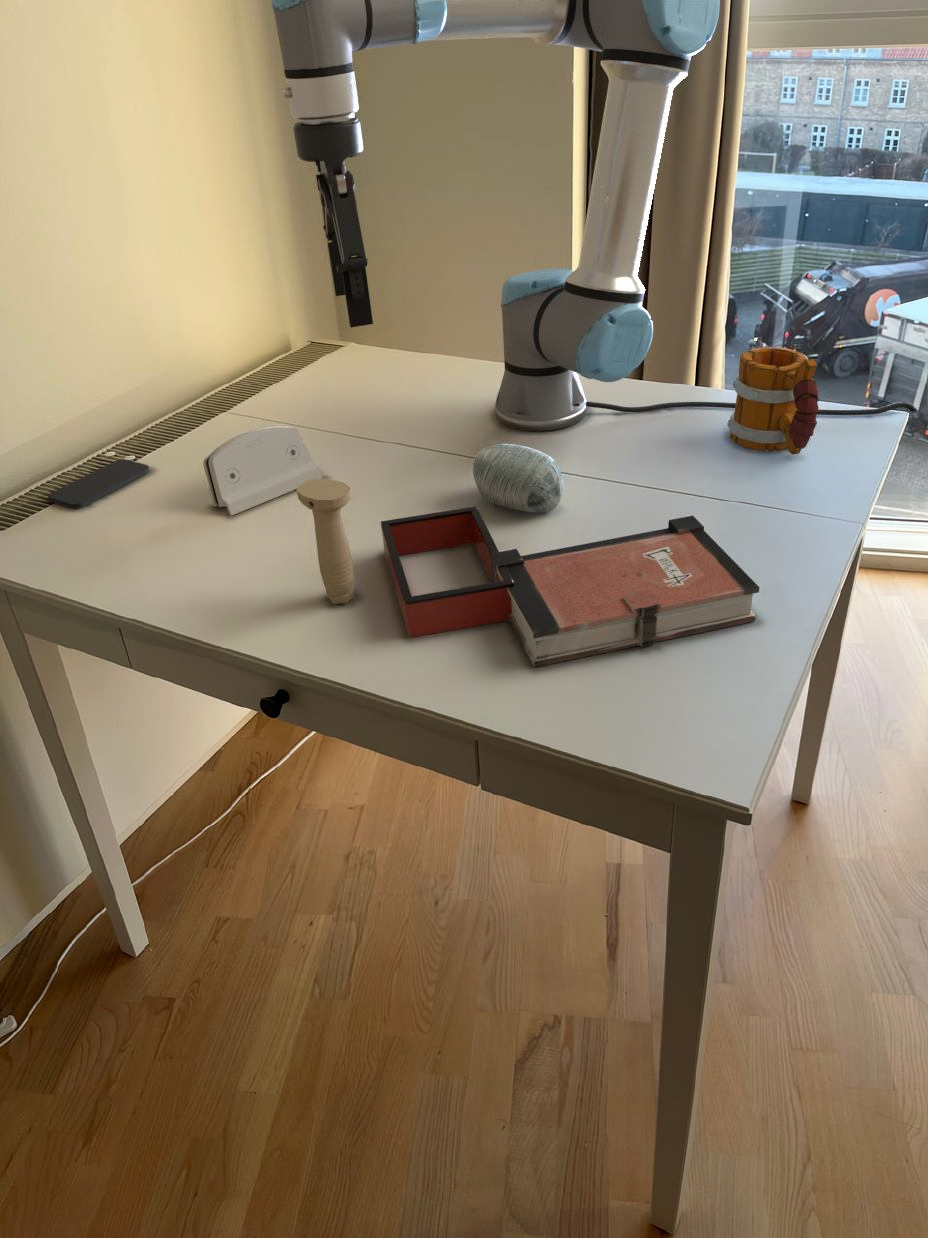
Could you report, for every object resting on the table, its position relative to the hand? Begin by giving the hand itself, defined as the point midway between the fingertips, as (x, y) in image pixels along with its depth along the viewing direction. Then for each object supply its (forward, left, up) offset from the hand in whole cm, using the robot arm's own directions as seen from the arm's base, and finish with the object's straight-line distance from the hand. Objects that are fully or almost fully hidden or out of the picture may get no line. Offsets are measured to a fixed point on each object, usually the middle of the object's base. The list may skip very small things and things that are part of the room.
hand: (353, 308), depth 119 cm
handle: (+8, +20, -29) cm, 36 cm away
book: (-24, +32, -29) cm, 49 cm away
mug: (-61, -3, -29) cm, 68 cm away
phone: (+41, -24, -29) cm, 55 cm away
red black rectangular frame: (-5, +21, -29) cm, 36 cm away
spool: (-19, +3, -29) cm, 35 cm away
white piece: (+16, -14, -29) cm, 36 cm away
